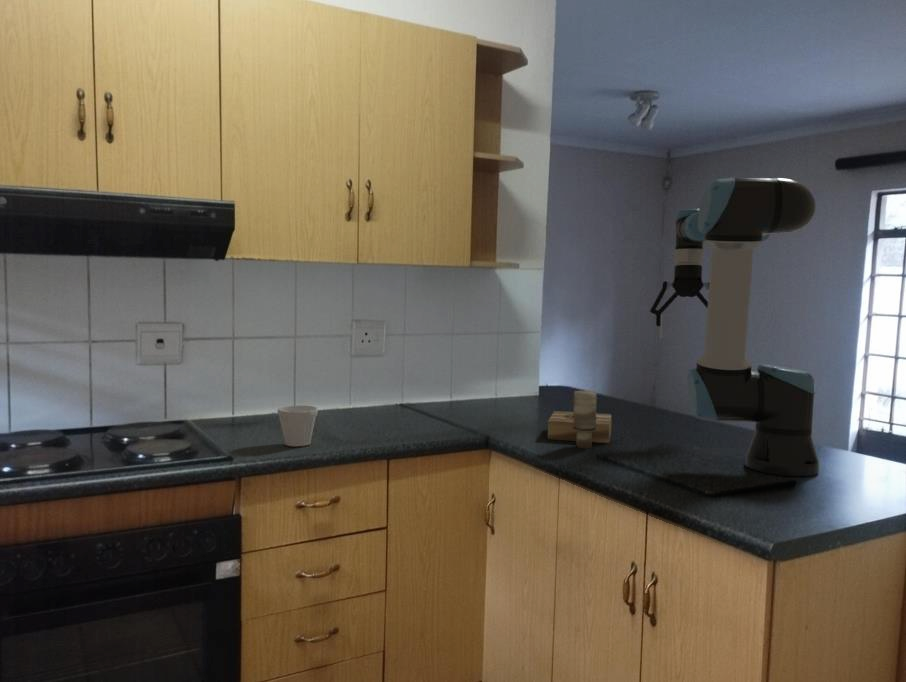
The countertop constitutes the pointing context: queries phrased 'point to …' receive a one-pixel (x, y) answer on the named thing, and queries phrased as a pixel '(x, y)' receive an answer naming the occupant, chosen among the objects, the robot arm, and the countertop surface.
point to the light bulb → (584, 417)
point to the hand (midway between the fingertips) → (685, 338)
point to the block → (563, 430)
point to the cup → (297, 424)
